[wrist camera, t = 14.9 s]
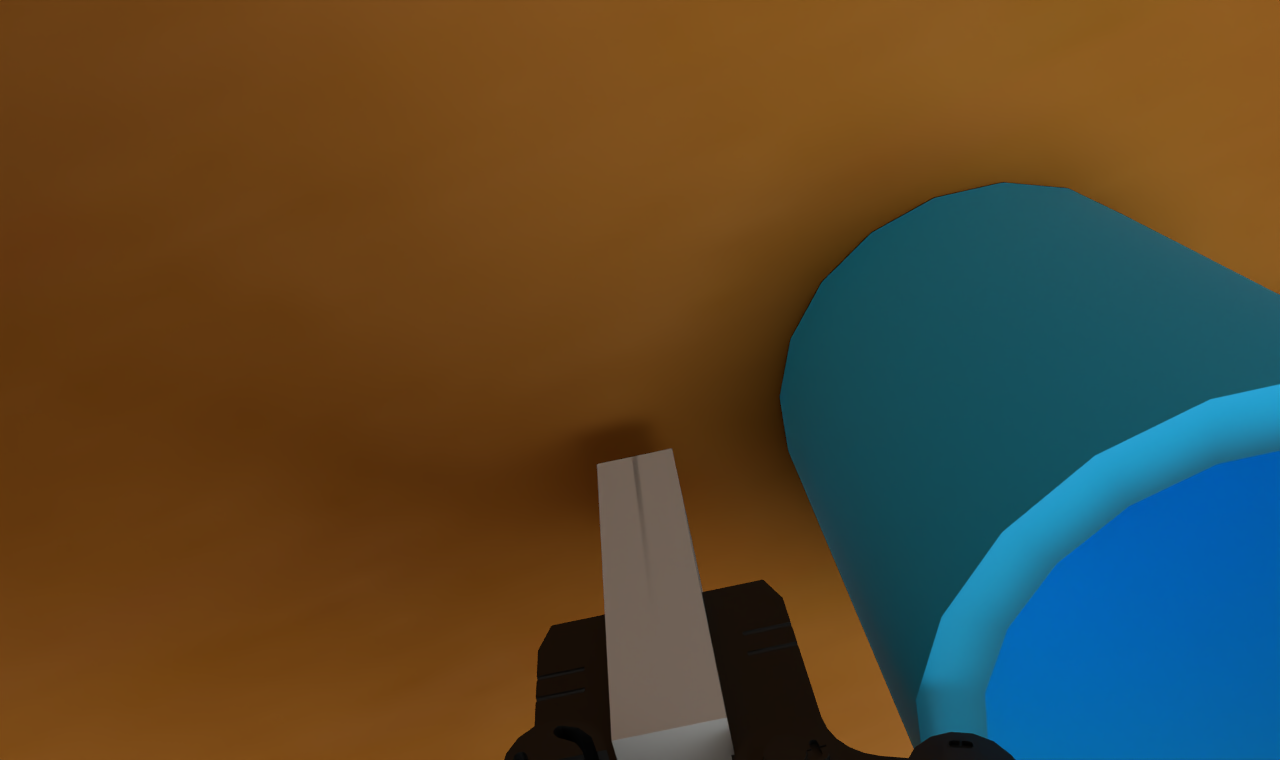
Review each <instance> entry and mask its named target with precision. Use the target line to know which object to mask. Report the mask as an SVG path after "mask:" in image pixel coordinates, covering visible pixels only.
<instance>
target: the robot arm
mask: <svg viewBox="0 0 1280 760" xmlns="http://www.w3.org/2000/svg"><path fill="white" fill-rule="evenodd" d="M597 474H598V493H599V512H600V531H601V550H602V569H603V588H604V607H605V615H601V616H596V617H591V618H586V619H581V620H576V621H572V622H567V623H562V624H557V625H552V626H551V628H550V630H549V632H548V633H547V635H546V637H545V639H544V641H543V643H542V644H541V646H540V648H539V650H538V664H537V679H538V681H537V686H536V699H537V702H536V709H535V727H533V728H532V729H530V730H529V731H528V732H526V733H525V734H523V735H522V736H521V737H519V738H518V739H517V740H516V742H515V743H514V744H513V746H512V747H511V748H510V750H509V751H508V752H507V753H506V756H505V759H504V760H1015V759H1014V757H1013V756H1012V755H1011V754H1009V753H1008V752H1007V751H1006V750H1004V749H1003V748H1002V747H1001V746H999V745H998V744H997V743H995V742H994V741H992V740H989V739H987V738H984V737H981V736H979V735H976V734H973V733H961V732H948V733H943V734H939V735H935V736H931V737H929V738H928V739H926V740H925V741H923V742H922V743H921V744H919V745H918V746H916V747H915V748H914V750H913V752H912V753H911V755H910V757H909V758H898V757H886V756H878V755H872V754H867V753H863V752H860V751H858V750H855V749H853V748H850V747H848V746H847V745H845V744H844V743H842V742H841V741H839V740H838V739H836V738H835V737H834V735H833V734H832V733H831V732H830V731H829V730H828V729H827V727H826V725H825V723H824V721H823V719H822V717H821V715H820V712H819V708H818V705H817V702H816V699H815V696H814V693H813V690H812V687H811V684H810V681H809V678H808V675H807V672H806V668H805V665H804V662H803V659H802V656H801V653H800V650H799V647H798V645H797V641H796V638H795V635H794V631H793V628H792V627H791V622H790V619H789V616H788V613H787V610H786V607H785V604H784V601H783V598H782V597H781V596H780V595H779V594H778V593H777V592H776V591H775V590H773V589H772V588H771V587H770V586H769V585H768V584H767V583H766V582H765V581H764V580H759V581H754V582H749V583H745V584H740V585H735V586H730V587H725V588H721V589H716V590H711V591H706V592H703V591H702V586H701V581H700V576H699V571H698V566H697V562H696V557H695V552H694V548H693V543H692V539H691V534H690V529H689V525H688V520H687V516H686V511H685V506H684V502H683V497H682V493H681V488H680V483H679V479H678V474H677V470H676V465H675V460H674V456H673V451H672V448H671V449H666V450H662V451H657V452H652V453H647V454H643V455H638V456H633V457H628V458H624V459H619V460H614V461H609V462H605V463H600V464H597Z"/></svg>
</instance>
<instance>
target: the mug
mask: <svg viewBox="0 0 1280 760" xmlns="http://www.w3.org/2000/svg"><path fill="white" fill-rule="evenodd" d="M780 403H781V409H782V415H783V421H784V428H785V434H786V440H787V446H788V451H789V454H790V456H791V458H792V461H793V463H794V465H795V468H796V470H797V473H798V475H799V477H800V480H801V482H802V484H803V487H804V489H805V492H806V494H807V496H808V499H809V501H810V503H811V506H812V508H813V511H814V513H815V515H816V518H817V520H818V522H819V525H820V527H821V529H822V532H823V534H824V537H825V539H826V541H827V544H828V546H829V548H830V551H831V553H832V556H833V558H834V560H835V563H836V565H837V567H838V570H839V572H840V575H841V577H842V579H843V582H844V584H845V586H846V589H847V591H848V594H849V596H850V598H851V601H852V603H853V605H854V608H855V610H856V613H857V615H858V617H859V620H860V622H861V624H862V627H863V629H864V631H865V634H866V636H867V639H868V641H869V643H870V646H871V648H872V650H873V653H874V655H875V658H876V660H877V662H878V665H879V667H880V669H881V672H882V674H883V677H884V679H885V681H886V684H887V686H888V688H889V691H890V693H891V696H892V698H893V700H894V703H895V705H896V707H897V710H898V712H899V715H900V717H901V719H902V722H903V724H904V726H905V729H906V731H907V734H908V736H909V738H910V741H911V743H912V745H913V748H915V747H916V746H918V745H919V744H921V743H922V742H923V741H925V740H926V739H928V738H929V737H931V736H935V735H939V734H943V733H948V732H961V733H973V734H976V735H979V736H981V737H984V738H987V739H989V740H992V741H994V742H995V743H997V744H998V745H999V746H1001V747H1002V748H1003V749H1004V750H1006V751H1007V752H1008V753H1009V754H1011V755H1012V756H1013V757H1014V759H1015V760H1280V295H1279V294H1277V293H1275V292H1273V291H1271V290H1269V289H1267V288H1265V287H1263V286H1261V285H1259V284H1257V283H1255V282H1253V281H1251V280H1250V279H1248V278H1246V277H1244V276H1242V275H1240V274H1238V273H1236V272H1234V271H1232V270H1230V269H1228V268H1226V267H1224V266H1222V265H1220V264H1218V263H1216V262H1214V261H1212V260H1210V259H1209V258H1207V257H1205V256H1203V255H1201V254H1199V253H1197V252H1195V251H1193V250H1191V249H1189V248H1187V247H1185V246H1183V245H1181V244H1179V243H1177V242H1175V241H1173V240H1171V239H1169V238H1167V237H1166V236H1164V235H1162V234H1160V233H1158V232H1156V231H1154V230H1152V229H1150V228H1148V227H1146V226H1144V225H1142V224H1140V223H1138V222H1136V221H1134V220H1132V219H1130V218H1128V217H1126V216H1125V215H1123V214H1120V213H1118V212H1116V211H1114V210H1112V209H1110V208H1108V207H1106V206H1104V205H1102V204H1100V203H1098V202H1096V201H1093V200H1091V199H1089V198H1087V197H1085V196H1083V195H1081V194H1079V193H1077V192H1075V191H1073V190H1071V189H1069V188H1058V187H1047V186H1036V185H1026V184H1015V183H1004V182H1003V183H998V184H994V185H989V186H985V187H980V188H976V189H971V190H967V191H963V192H958V193H954V194H949V195H945V196H940V197H936V198H933V199H931V200H930V201H928V202H926V203H924V204H922V205H921V206H919V207H917V208H915V209H913V210H912V211H910V212H908V213H906V214H904V215H903V216H901V217H899V218H897V219H895V220H894V221H892V222H890V223H888V224H886V225H885V226H883V227H881V228H879V229H877V230H876V231H874V232H872V233H871V234H870V235H869V236H868V237H867V238H866V239H865V240H864V241H863V242H862V243H861V244H860V245H859V246H858V247H857V248H856V249H855V250H854V251H853V252H852V253H851V254H850V255H849V256H848V257H847V258H846V259H845V260H844V261H843V262H842V263H841V264H840V265H839V266H838V267H837V268H836V269H835V270H833V271H832V272H831V273H830V274H829V275H828V276H827V277H826V278H825V279H824V280H823V281H822V283H821V285H820V286H819V288H818V290H817V292H816V294H815V296H814V297H813V299H812V301H811V303H810V305H809V306H808V308H807V310H806V312H805V314H804V316H803V317H802V319H801V321H800V323H799V325H798V327H797V328H796V330H795V332H794V334H793V336H792V337H791V340H790V345H789V350H788V355H787V361H786V366H785V371H784V377H783V382H782V387H781V392H780Z"/></svg>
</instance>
